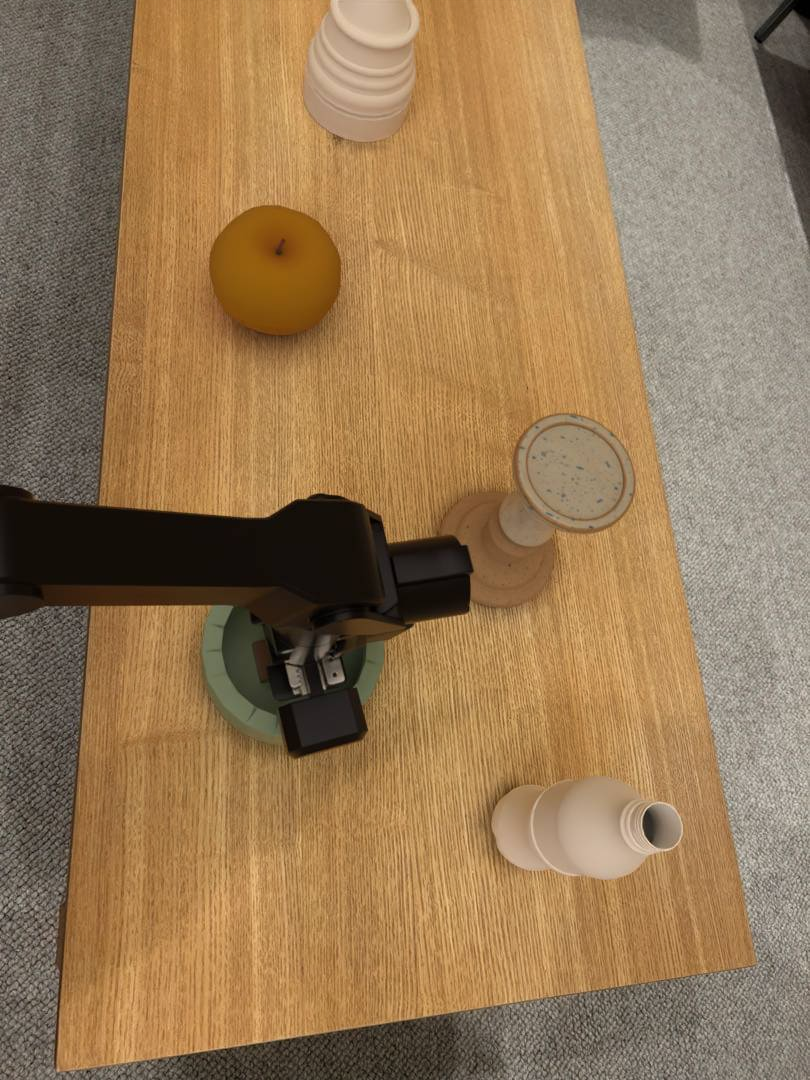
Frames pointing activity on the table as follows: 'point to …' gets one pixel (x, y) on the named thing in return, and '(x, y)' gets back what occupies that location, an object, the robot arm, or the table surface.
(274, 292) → the apple
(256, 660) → the stamp
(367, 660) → the bowl
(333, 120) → the honey pot
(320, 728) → the robot arm
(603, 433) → the candle holder
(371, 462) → the table surface
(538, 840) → the water bottle
